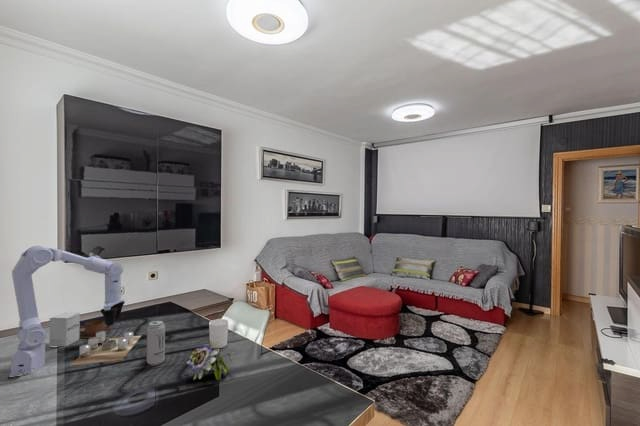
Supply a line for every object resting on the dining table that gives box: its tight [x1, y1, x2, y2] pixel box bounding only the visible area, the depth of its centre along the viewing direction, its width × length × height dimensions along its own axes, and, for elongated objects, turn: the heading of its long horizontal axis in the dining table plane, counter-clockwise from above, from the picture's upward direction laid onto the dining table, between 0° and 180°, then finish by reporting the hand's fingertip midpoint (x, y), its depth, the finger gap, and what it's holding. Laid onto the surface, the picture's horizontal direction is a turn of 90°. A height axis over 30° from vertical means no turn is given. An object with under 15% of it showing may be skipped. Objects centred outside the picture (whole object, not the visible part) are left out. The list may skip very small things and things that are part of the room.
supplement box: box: [48, 312, 81, 347], centre depth 131 cm, size 7×7×13 cm
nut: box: [102, 340, 116, 351], centre depth 126 cm, size 5×4×2 cm
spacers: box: [79, 331, 134, 358], centre depth 127 cm, size 17×15×4 cm
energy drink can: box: [146, 320, 166, 367], centre depth 115 cm, size 6×6×15 cm
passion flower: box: [186, 341, 233, 382], centre depth 107 cm, size 13×12×14 cm
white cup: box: [208, 318, 229, 349], centre depth 130 cm, size 8×8×10 cm
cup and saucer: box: [79, 319, 112, 339], centre depth 141 cm, size 12×12×6 cm
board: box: [69, 335, 142, 366], centre depth 125 cm, size 24×17×1 cm
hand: (113, 321), depth 131 cm, fingers open, 7 cm apart
